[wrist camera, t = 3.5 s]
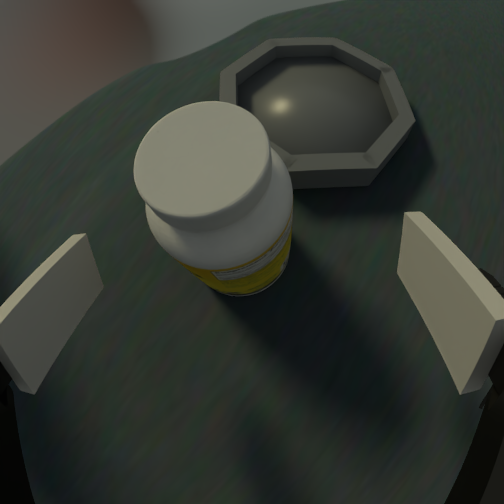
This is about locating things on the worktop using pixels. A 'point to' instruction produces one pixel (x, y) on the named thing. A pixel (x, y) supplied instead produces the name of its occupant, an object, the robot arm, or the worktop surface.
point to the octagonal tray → (322, 108)
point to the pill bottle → (217, 196)
